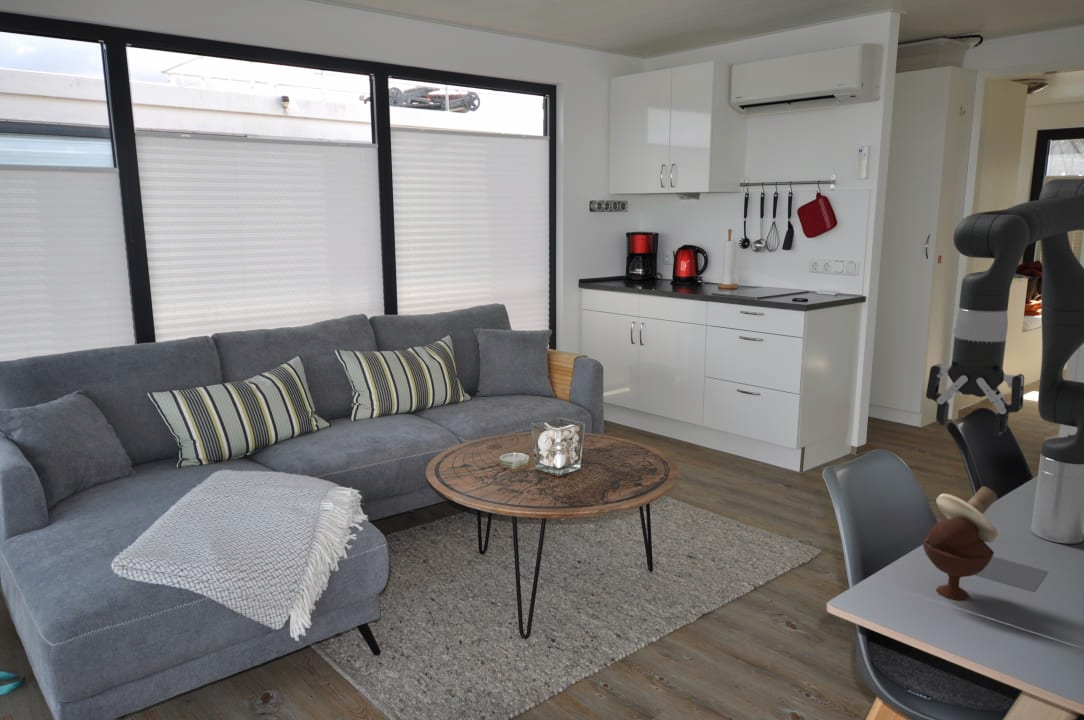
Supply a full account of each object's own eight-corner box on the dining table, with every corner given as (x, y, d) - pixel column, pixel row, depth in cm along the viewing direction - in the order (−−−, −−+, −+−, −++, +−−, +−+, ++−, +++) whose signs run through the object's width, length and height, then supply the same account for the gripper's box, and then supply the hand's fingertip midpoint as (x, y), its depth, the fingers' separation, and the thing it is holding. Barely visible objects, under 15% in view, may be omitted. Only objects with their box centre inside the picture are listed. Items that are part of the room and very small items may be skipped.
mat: (983, 555, 152) (983, 553, 152) (1047, 573, 145) (1048, 571, 145) (966, 574, 145) (966, 572, 144) (1034, 594, 137) (1034, 592, 137)
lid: (940, 517, 143) (963, 491, 144) (997, 551, 135) (1021, 524, 135) (932, 487, 136) (957, 460, 137) (991, 522, 127) (1017, 493, 128)
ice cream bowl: (1002, 607, 132) (1012, 526, 130) (944, 612, 131) (953, 530, 128) (959, 578, 143) (968, 503, 140) (905, 583, 141) (912, 507, 138)
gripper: (1034, 338, 125) (1023, 433, 129) (941, 329, 135) (932, 417, 138) (1023, 343, 120) (1011, 442, 123) (927, 334, 130) (918, 425, 133)
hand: (969, 429), depth 131 cm, fingers open, 8 cm apart
